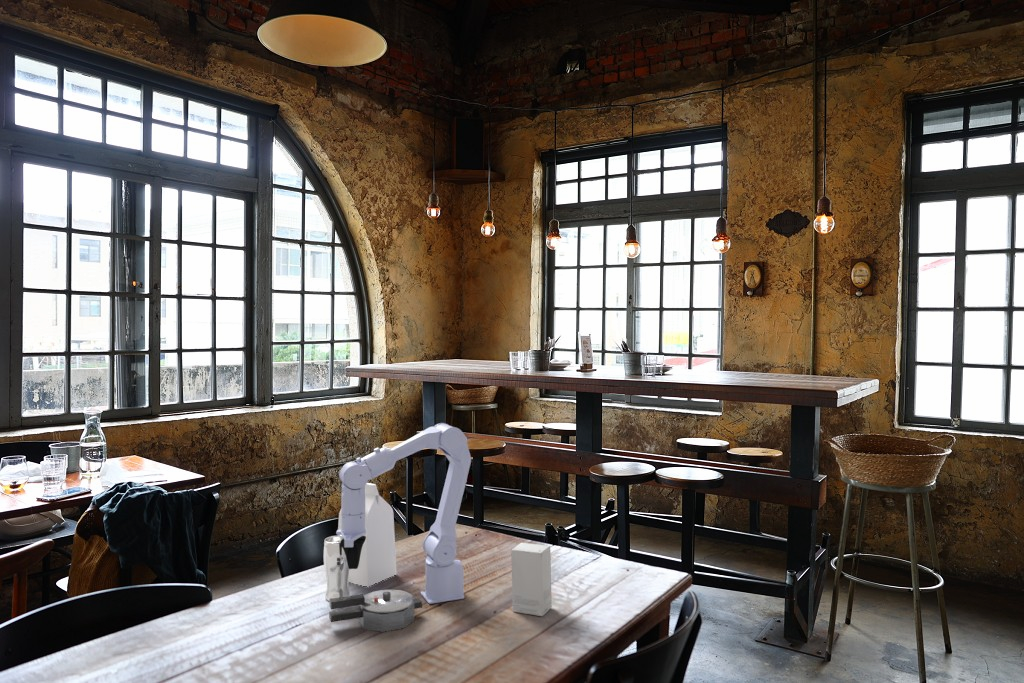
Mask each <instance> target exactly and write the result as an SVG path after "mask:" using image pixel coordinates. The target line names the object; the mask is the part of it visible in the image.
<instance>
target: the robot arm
mask: <svg viewBox="0 0 1024 683" xmlns="http://www.w3.org/2000/svg"><path fill="white" fill-rule="evenodd" d="M424 449H431V450H440V451H442V453H443V454H444V456H445V457H446V459H447V460H448V461H449V464H448V469H447V473H446V478H445V480H444V481H445V482H444V486H443V489H442V493H441V496H440V497H441V498H440V502H439V505H438V509H437V514H436V518H435V521H434V523H433V524H432V525H431V526H430V528H429V531H428V533H427V535H426V536H425V537H424V539H423V543H422V549H423V551H424V552H425V554H426V558H425V571H424V572H425V579H424V580H425V587H424V589H425V590H422V591H420V595H421V596H422V597H423V599H424V600H425V601H426V602H427V603H428V604H429V605H432V604H438V603H439V604H440V603H445V602H451V601H456V600H463V599H465V595H464V593H465V590H464V588H465V587H464V581H465V577H464V575H465V574H464V572H465V571H464V566H463V563H462V561H461V560H460V559H456V558H457V553H458V551H457V550H458V549H457V544H456V543H457V540H458V536H457V532H456V531H457V530H456V524H457V520H458V518H459V512H460V508H461V505H462V504H461V503H462V500H463V495H464V492H465V488H466V483H467V479H468V475H469V471H470V467H471V463H472V456H471V453H470V449H469V445H468V438H467V436H466V435H465V433H463V431H462V429H460V428H458V427H457V426H456V427H455V426H452V425H449V424H448V423H445V422H440V423H437V424H435V425H434V426H429V427H427V428H426V429H424V430H422V431H421V432H418V433H417V434H415V435H414V436H412V437H410V438H408V439H406V440H404V441H403V442H401V443H399V444H397V445H395V446H393V447H392V448H390V449H389V448H388V447H387V448H386V447H381V448H380V447H376V448H373V452H371V453H369V454H367V455H364V456H363V457H360V456H358V457H356V459H355V461H356V462H355V461H349V462H346V463H345V464H344V465H343V466H342V467H341V468H340V470H339V473H338V478H339V480H340V481H341V497H340V500H341V504H340V505H341V506H340V507H341V508H340V510H341V530H338V529H337V530H336V532H335V534H336V535H337V536H338V535H341V536H342V537H343V539H342V540H341V546H342V548H343V550H344V552H345V555H346V559H347V564H348V568H349V569H357V568H358V565H359V561H360V555H361V550H362V547H363V544H364V542H365V539H366V536H363V535H365V534H366V529H365V485H366V484H367V483H369V480H373V479H375V478H376V477H379V476H380V475H382V474H384V473H386V472H388V471H390V470H392V469H394V468H395V465H396V463H397V461H399V460H402V459H404V458H406V457H408V456H410V455H413V454H415V453H417V452H420V451H422V450H424Z"/></svg>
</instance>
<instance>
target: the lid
mask: <svg viewBox="0 0 1024 683" xmlns="http://www.w3.org/2000/svg"><path fill="white" fill-rule="evenodd" d="M413 599H414V595H412V594H411V593H410V592H408V591H405V590H401V589H380V590H375V591H372V592H369V593H366V594H363V593H362V594H354V595H353V594H352V595H350V596H346V597H339V598H332V599H330V601H329V607H330V610H335V609H342V608H347V607H355V606H356V607H358V606H359V605H360V607H361V608H362V609H364V610H366V611H368V612H373V613H392V612H397V611H401V610H404V609H406V608H408V607H410V606H411V605H412V604H413Z"/></svg>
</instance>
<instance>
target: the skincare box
mask: <svg viewBox="0 0 1024 683" xmlns="http://www.w3.org/2000/svg"><path fill="white" fill-rule="evenodd" d="M510 556H511V561H510V562H511V593H512V594H511V596H512V597H511V598H512V601H511V602H512V612H513V613H520V614H527V615H531V616H532V615H533V616H538V617H543V616H545V615H546V614H547V612H549V611H550V610H551V609H552V605H553V603H552V563H551V546H550V545H544V544H536V543H528V542H520V543H518V544H517V545H516V546H514V547H513V548H512V549H511V550H510Z"/></svg>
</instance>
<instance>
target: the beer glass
mask: <svg viewBox="0 0 1024 683" xmlns="http://www.w3.org/2000/svg"><path fill="white" fill-rule="evenodd" d="M342 539H343V537H342V536H341V535H338V534H337V535H331V536H328V537H326V538H324V542H323V545H324V546H323V566H324V573H325V578H326V591H325V595H324V596H325V600H326V601H328V602H330V599H332V598H339V597H346V596H351V594H350V589H349V582H348V578H349V572H350V569H349V568H348V564H347V559H346V555H345V552H344V550H343V548H342V546H341V540H342Z"/></svg>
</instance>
